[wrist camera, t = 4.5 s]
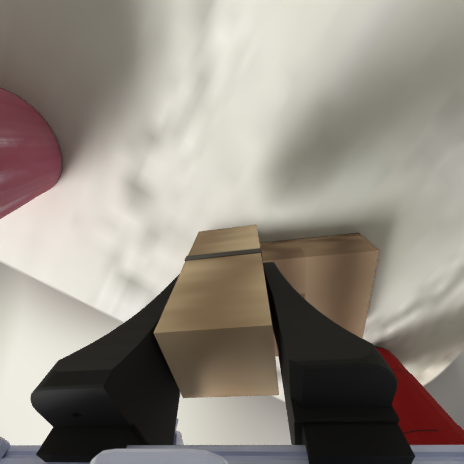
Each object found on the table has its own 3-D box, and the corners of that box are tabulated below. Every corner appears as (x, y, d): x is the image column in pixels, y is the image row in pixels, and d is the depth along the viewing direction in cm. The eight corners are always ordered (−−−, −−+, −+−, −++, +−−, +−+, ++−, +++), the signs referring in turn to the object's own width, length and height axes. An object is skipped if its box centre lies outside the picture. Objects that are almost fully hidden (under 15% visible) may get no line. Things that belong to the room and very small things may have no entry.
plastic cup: (381, 321, 26) (478, 452, 16) (426, 358, 29) (536, 492, 18) (315, 359, 30) (356, 485, 19) (360, 389, 33) (418, 513, 22)
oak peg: (209, 278, 16) (182, 398, 9) (198, 231, 14) (151, 332, 7) (262, 273, 15) (280, 395, 8) (257, 224, 14) (273, 323, 6)
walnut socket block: (213, 334, 29) (209, 358, 26) (190, 249, 23) (182, 268, 20) (346, 327, 27) (359, 352, 24) (359, 233, 21) (379, 250, 18)
